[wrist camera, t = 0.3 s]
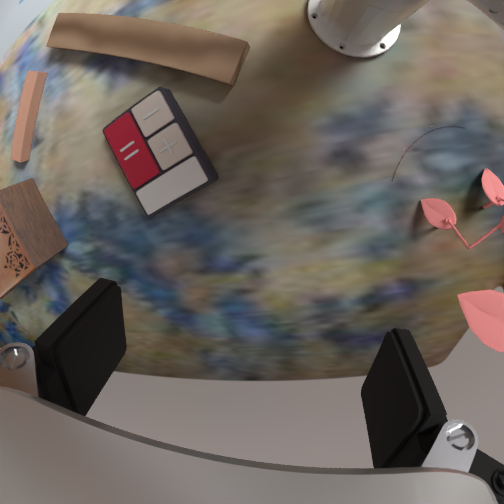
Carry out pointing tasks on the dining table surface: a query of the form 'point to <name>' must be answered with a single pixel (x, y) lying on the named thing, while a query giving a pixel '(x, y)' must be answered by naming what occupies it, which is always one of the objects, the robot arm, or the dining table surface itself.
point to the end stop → (27, 115)
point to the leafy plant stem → (442, 216)
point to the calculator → (159, 152)
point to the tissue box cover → (25, 234)
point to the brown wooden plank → (152, 43)
